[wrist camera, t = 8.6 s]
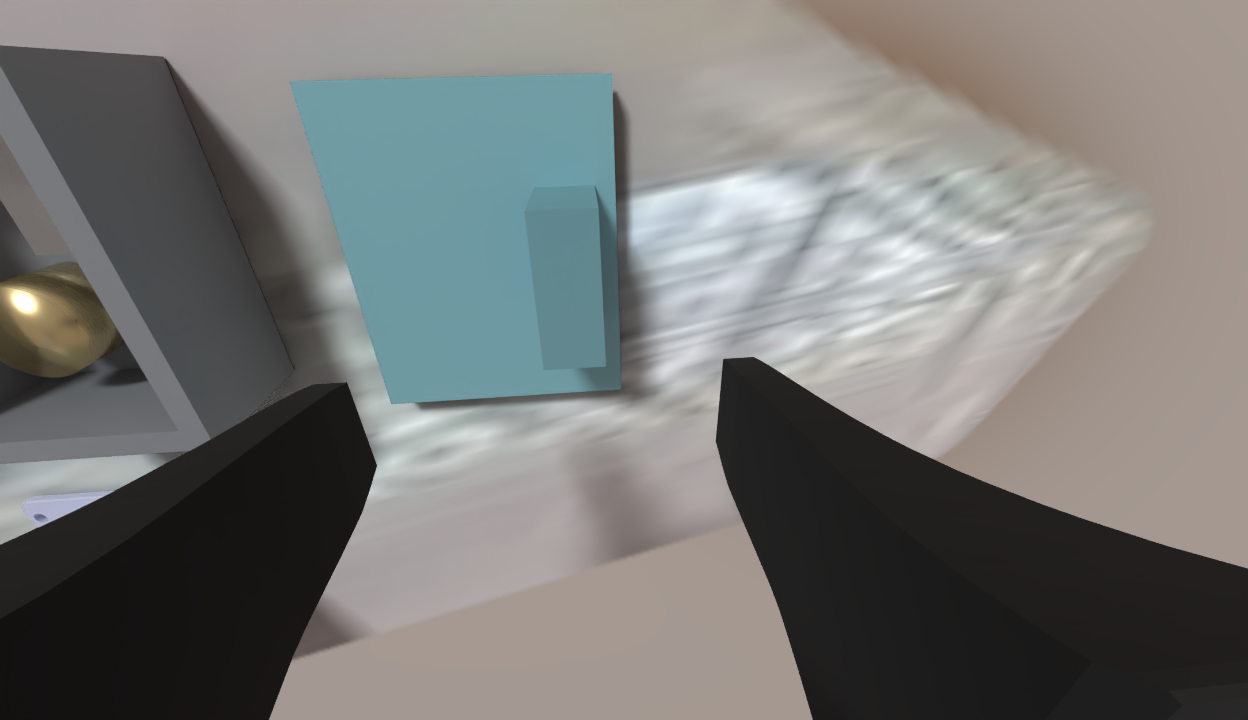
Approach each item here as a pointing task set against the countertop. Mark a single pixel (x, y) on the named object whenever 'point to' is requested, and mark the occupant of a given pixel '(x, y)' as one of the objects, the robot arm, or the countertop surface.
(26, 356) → the brass knob
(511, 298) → the lid
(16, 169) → the steel block
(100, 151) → the tub
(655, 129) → the countertop surface
